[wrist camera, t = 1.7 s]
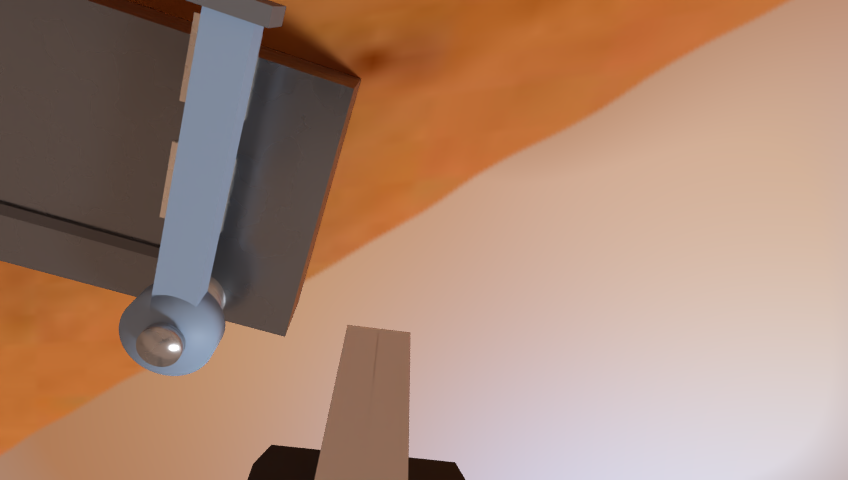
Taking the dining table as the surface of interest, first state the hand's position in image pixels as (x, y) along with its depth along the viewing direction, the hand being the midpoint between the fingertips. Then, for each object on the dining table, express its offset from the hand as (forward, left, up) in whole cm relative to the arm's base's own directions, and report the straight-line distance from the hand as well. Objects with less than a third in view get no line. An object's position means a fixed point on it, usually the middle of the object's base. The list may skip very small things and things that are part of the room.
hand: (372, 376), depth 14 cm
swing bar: (-8, -2, -14) cm, 16 cm away
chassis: (-12, -3, -20) cm, 23 cm away
